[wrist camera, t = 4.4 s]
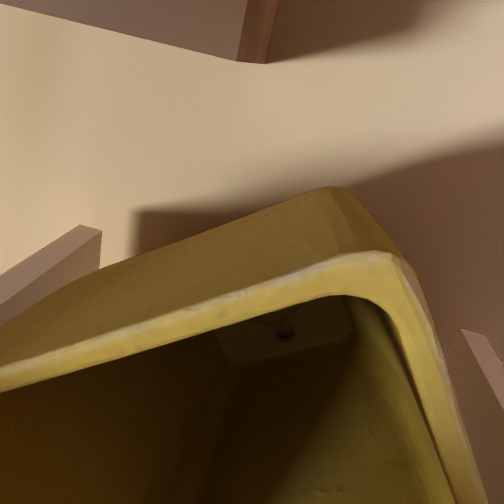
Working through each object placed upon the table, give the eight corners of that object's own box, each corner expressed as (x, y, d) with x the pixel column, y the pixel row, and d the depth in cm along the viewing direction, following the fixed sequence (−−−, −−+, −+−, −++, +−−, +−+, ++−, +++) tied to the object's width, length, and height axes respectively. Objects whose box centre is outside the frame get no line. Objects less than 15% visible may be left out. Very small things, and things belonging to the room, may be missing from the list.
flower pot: (430, 362, 15) (559, 712, 7) (215, 412, 18) (120, 710, 9) (351, 126, 12) (408, 239, 4) (109, 225, 15) (-153, 415, 7)
